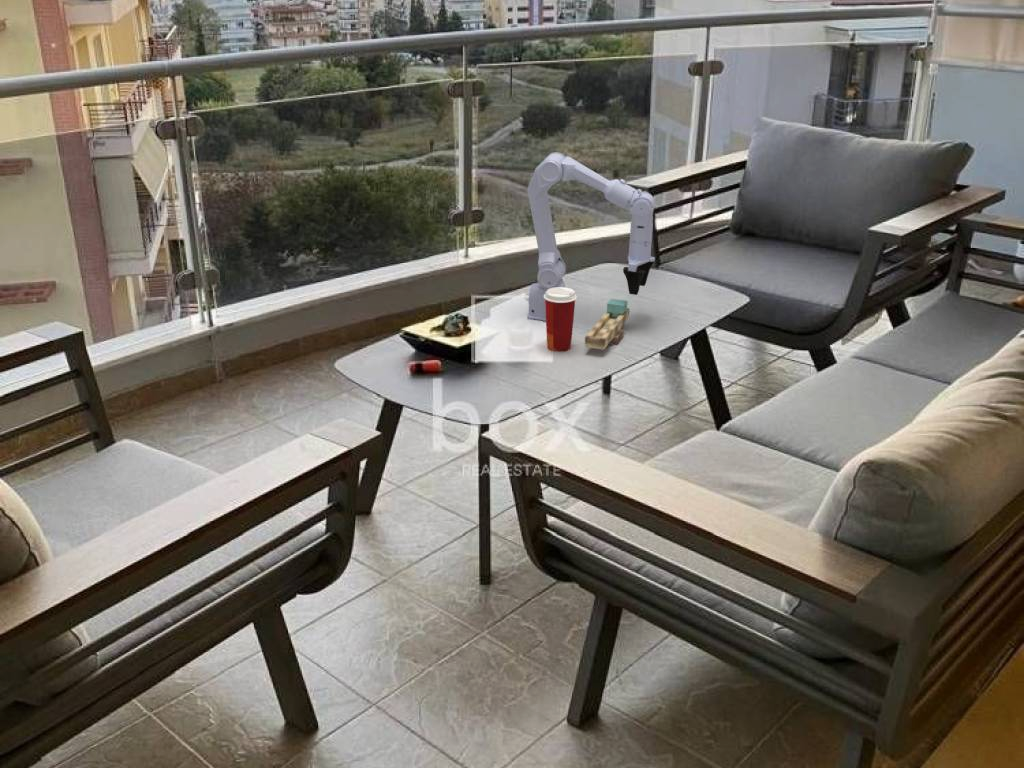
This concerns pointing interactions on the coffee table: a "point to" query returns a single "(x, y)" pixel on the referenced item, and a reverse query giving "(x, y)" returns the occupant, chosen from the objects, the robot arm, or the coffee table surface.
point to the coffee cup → (559, 317)
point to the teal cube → (616, 307)
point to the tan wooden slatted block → (606, 331)
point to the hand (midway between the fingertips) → (637, 289)
